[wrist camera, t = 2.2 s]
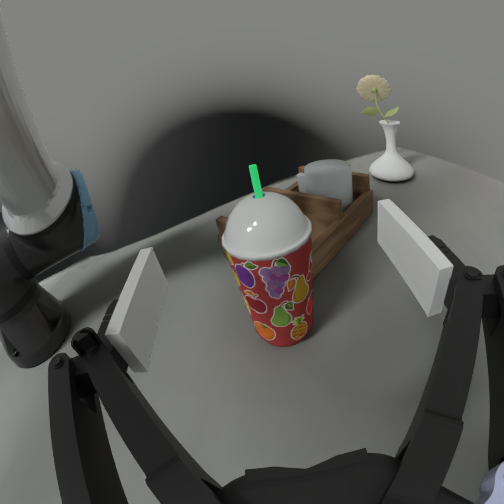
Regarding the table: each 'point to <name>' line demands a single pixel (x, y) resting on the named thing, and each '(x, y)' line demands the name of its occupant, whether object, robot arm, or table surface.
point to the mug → (328, 180)
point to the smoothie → (272, 263)
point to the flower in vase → (390, 161)
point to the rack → (326, 218)
